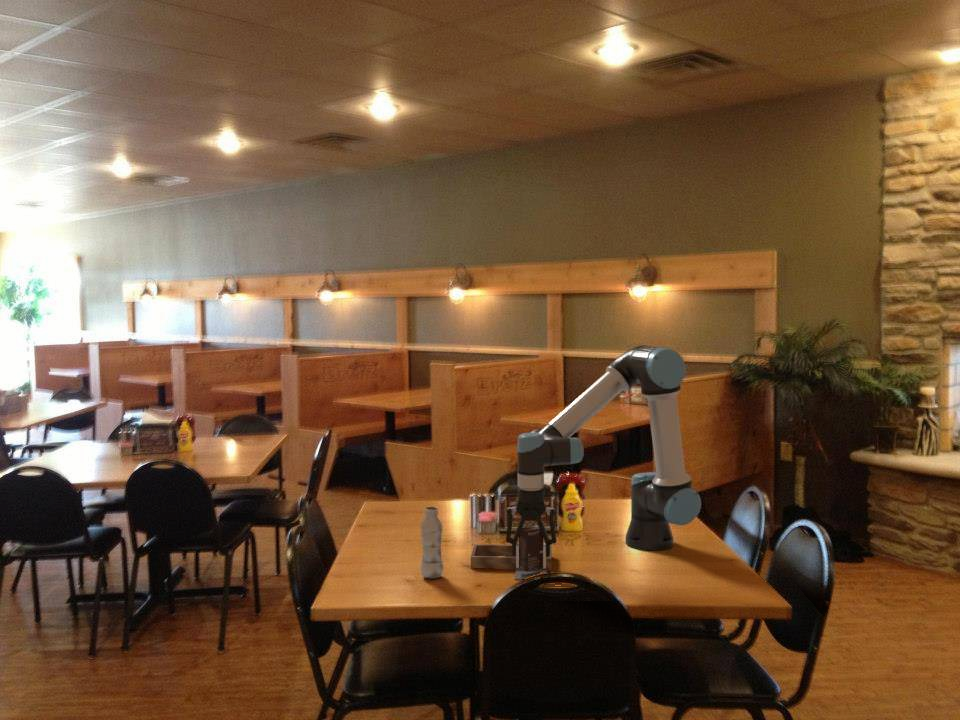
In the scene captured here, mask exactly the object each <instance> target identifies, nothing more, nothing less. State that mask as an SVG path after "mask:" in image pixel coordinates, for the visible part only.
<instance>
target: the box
mask: <svg viewBox="0 0 960 720" xmlns="http://www.w3.org/2000/svg"><path fill="white" fill-rule="evenodd" d="M518 543H519V569H520V570H523V571H525V572H529V571H533V570H537V569H542V568H543V543H544V538H543V536H542V533H541V530H540V528H539V525H537V524H534V525H527V526H523V527H522V529H521V533H520V535H519V538H518Z"/></svg>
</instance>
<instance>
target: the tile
mask: <svg viewBox="0 0 960 720" xmlns="http://www.w3.org/2000/svg"><path fill="white" fill-rule="evenodd" d="M540 573H548V570H547V569H537V570H533V571H529V572H525V571H523V570H520V569H519V568H516V569H515V574H514V580H515V581H523V580H522V579H525V578H527V577H530V576H533V575H537V574H540ZM516 579H517V580H516Z"/></svg>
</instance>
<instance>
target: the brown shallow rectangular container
mask: <svg viewBox="0 0 960 720" xmlns="http://www.w3.org/2000/svg"><path fill="white" fill-rule="evenodd" d="M552 549H553V548H552V545H550V555H549V556H546V568H542V569H547V571H552V560H553V559H552V557H553V556H552ZM498 556H505V557H498ZM474 568H494V569H493V570H516V556H513V554H512V544H479V543H477V544H474V546H473V548H472V551H471V555H470V569H474Z"/></svg>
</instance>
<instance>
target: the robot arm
mask: <svg viewBox="0 0 960 720" xmlns="http://www.w3.org/2000/svg"><path fill="white" fill-rule="evenodd" d="M686 371H687V366H686V363H685V361H684V357H682V355H681V354H680V353H678V351H676V350H674V349H672V348H668V347H665V346H651V345H645V344H644V345H638V346H634V347H632V348H629V349H628V350H626V351H625V352H623V353H622V354H621V355H620V356H618V357H617V358H616V359H615V360H613V361H612V362H611V363H610V364H609V365H607V367H606V368H605V373H604V374H602V375H601V376H600V377H599V378H597V379H596V380H595V382H593V383H592V384H591V385H590V386H589V387H588V388H587V389H585V390H584V391H583V392H582V393H581V394H580V395H579V396H578V397H576V398H575V399H574V400H573V401H572V402H571V403H569V405H568V406H566V407H565V408H564V409H563V410H561V412H559V414H557V415H556V416H555V417H554V418H553V419H552V420H551V421H549V422H548V423H547V424H546V425H545V426H543V427H542V428H540V429H534V430H532V431H531V432H523V433H521V434H519V435H518V437H517V447H516V451H517V487H518V489H517V504H516V506H512V507H511V506H508V507H507V509H506V512H507V516H508V517H507V519H508V520H507V525H506V526H507V527H506V528H507V529H506V535H505V536H506V537H505V542H506V543H507V544H508V543H509V544H510V545H512V554H513V556H516V568H519V542H518V541H519V535H520V533H521V529H522V528H523V527H524V524H525V522H526V521H527V522H528V521H535V522H536V523H537V526H539V528H540V530H541V533H542V536H543V568H546V556H549V555H550V546H552V544H556V543H557V536H556V527H555V519H554V518H555V517H554V516H555V513H556V509H555V507H548V506H547V505H546V504H545V489H544V486H545V467H550V466H560V465H572V464H573V465H574V464H578V463H580V462H582V461H583V458H584V455H585V454H584V453H585V451H584V450H585V449H584V444H583V442H582V440H581V439H580V438H578V437H572V436H574V434H575V433H576V432H578V431H579V430H580V429H581V428H582V427H583V426H584V425H585V424H587V423H588V422H589V421H590V420H591V419H592V418H593V417H594V416H595V415H597V414H598V413H599V412H600V411H602V409H603V408H605V407H606V406H607V405H608V404H609V403H610V402H611V401H613V400H614V399H615V398H616V397H617V396H618V395H619V394H620V393H621V392H627V391H629V390H630V389H631V388H632V387H633V386H636V385H638V384H639V385H640V391H641V395H642V396H643V397H645V398H646V399H647V405H648V415H649V423H650V432H651V439H652V440H651V441H652V448H653V457H654V464H655V465H654V467H655V471H651V472H650V471H647V472H638V473H635V474H633V475H632V477H631V481H630V487H631V489H630V490H631V491H630V492H631V493H630V495H631V497H630V498H631V499H630V500H631V501H630V503H631V506H630V507H631V510H630V513H631V514H630V515H631V516H630V518H631V519H630V521H629V525H628V527H627V531H626V533H625V544H626V546H628V547H630V548H633V549H636V550H644V551H665V550H669V549H671V548H673V547H674V541H675V540H674V536H673V532H672V528H671V526H670V524H671V525H673V524H674V525H676V526H685V525H688V524H690V523H692V522H693V521H694V520H695V519H696V518H697V516H698V515H699V514H700V511H701V508H702V499H701V497H700V496H701V495H700V494H699V493H698V492H697V491H696V490H695V489H693V483H692V478H691V475H690V474H688V473H687V472H686V468H685V467H686V466H685V460H684V459H685V458H684V450H683V441H682V433H681V425H680V416H679V415H680V414H679V408H678V400H677V399H678V397H677V396H678V394H679V393H680V391H681V390H682V388H681V384H682V383H683V382H684V381H683V380H684V379H685V378H686V373H687V372H686ZM516 511H517V513H518V514H519V515H520V519H519V521H518V525H517V528H516V529H515V533H514V536H513V537H512V531H513V530H512V526H513V520H514V519H513V518H514V515H516ZM545 512H546V515H547V516H548V519H549V528H550V529H549V530H550V535H551V537H550V538H549V535H548V532H547V530H546V527H545V525H544V522H543V519H542V515H543V514H544V513H545Z"/></svg>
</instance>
